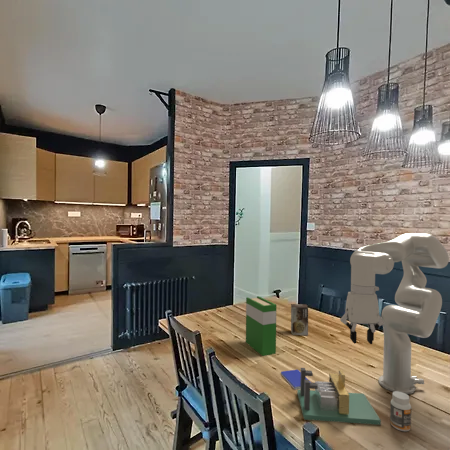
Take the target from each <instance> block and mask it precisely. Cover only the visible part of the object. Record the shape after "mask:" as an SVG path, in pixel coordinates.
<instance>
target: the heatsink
mask: <svg viewBox="0 0 450 450" xmlns="http://www.w3.org/2000/svg"><path fill="white" fill-rule="evenodd" d="M314 383H317V386H318V389H314V391H315V395H316V398H317V401H318V404H319V407H320V409H321V410H322V411H337V412H339V394H338V392H337V390H336V388H335V386H334V384H333V382H329V381H319V380H318V381H314Z"/></svg>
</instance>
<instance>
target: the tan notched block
mask: <svg viewBox="0 0 450 450" xmlns="http://www.w3.org/2000/svg"><path fill="white" fill-rule="evenodd" d="M328 375H329V376H328V382H333V384H334V386H335V388H336V390H337V392H338V394H339V414H347V415H349V393H350V392H349V391H348V390H347V388H346V374H345V373H344V371H343V369H341V368H339V369H338V373H332V372H329V374H328Z"/></svg>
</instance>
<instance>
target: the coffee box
mask: <svg viewBox="0 0 450 450" xmlns="http://www.w3.org/2000/svg"><path fill="white" fill-rule="evenodd" d="M290 308H291V309H290V313H291V314H290V322H291V323H290V332H291V335H292V336H308V335H309V307H308V305H307V304H302V303H291V305H290Z"/></svg>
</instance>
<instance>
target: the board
mask: <svg viewBox="0 0 450 450" xmlns="http://www.w3.org/2000/svg"><path fill="white" fill-rule="evenodd" d="M300 372H301V376H300V389H296V391H297V392H296V393H297V397H298V400H299V405H300V408H301V413H302V416H303V420H307V421H320V422H321V421H322V422H323V421H324V422H334V423H335V422H337V423H348V424H349V423H352V424H366V425H379V426H381V424H382V423H381V422H382V420H381V418H380V417H379V415H378V414H377V412H376V410H375V409H374V407H373V406H372V404H371V403H370V401H369V399H368V398H367V397H366V395H365V393H362V392H361V393H360V392H358V393H357V392H348V393H349V415H347V414H339V412H337V411H322V410H321V409H320V407H319V404H318V401H317V398H316V395H315V389H318V386H317V383H315V382H312V381H310V379H308V380H306V378H307V377H314V374H313V373H314V372H313V370H309V369H308V370H307V369H306V368H305V367H300ZM312 389H313V390H312Z"/></svg>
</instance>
